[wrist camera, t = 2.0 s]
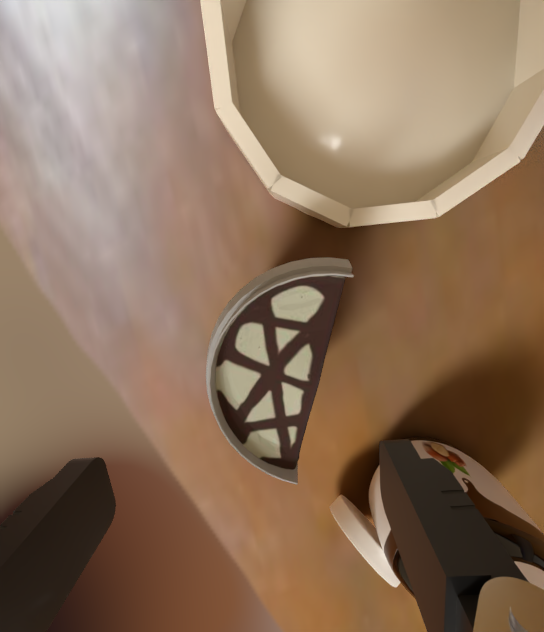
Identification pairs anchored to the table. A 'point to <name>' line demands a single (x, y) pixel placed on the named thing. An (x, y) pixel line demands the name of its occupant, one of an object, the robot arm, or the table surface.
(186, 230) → the table surface
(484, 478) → the spread jar
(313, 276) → the food container
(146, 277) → the table surface
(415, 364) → the table surface
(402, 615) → the table surface
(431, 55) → the bowl
